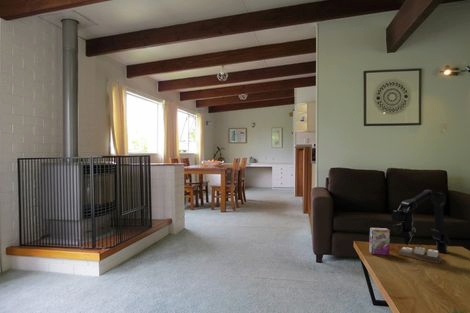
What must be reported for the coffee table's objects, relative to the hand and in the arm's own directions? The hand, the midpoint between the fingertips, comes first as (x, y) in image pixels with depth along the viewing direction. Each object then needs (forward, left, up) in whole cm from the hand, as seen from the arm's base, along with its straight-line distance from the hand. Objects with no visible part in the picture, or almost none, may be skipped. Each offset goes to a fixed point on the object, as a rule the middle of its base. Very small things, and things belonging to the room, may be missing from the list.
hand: (407, 244), depth 196 cm
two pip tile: (0, +7, -4) cm, 8 cm away
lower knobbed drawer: (0, +14, -4) cm, 15 cm away
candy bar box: (+11, -14, -7) cm, 19 cm away
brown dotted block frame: (0, +7, -6) cm, 10 cm away
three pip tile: (0, 0, -6) cm, 6 cm away
